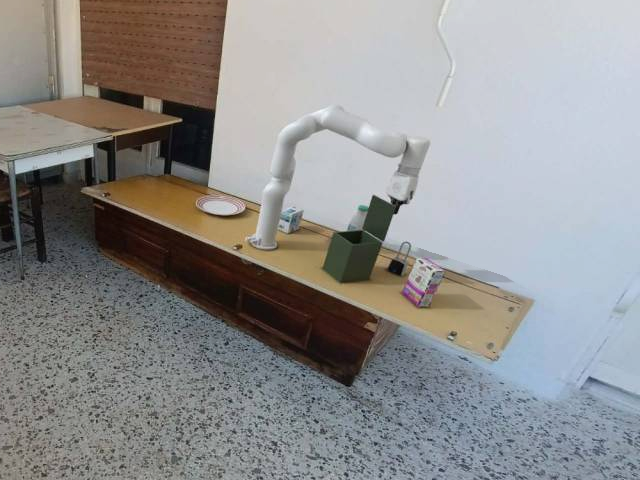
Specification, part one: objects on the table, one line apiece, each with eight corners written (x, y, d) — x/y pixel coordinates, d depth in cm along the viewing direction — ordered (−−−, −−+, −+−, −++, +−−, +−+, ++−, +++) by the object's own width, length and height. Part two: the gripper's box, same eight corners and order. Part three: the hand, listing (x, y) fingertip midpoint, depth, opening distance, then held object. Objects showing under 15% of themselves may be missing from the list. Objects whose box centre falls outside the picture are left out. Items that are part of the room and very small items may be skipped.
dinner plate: (234, 223, 242) (235, 217, 240) (187, 211, 254) (188, 205, 252) (251, 207, 262) (252, 202, 260) (207, 197, 274) (207, 191, 272)
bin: (340, 282, 193) (352, 245, 184) (322, 268, 203) (333, 232, 194) (369, 279, 197) (383, 242, 187) (350, 265, 207) (362, 229, 197)
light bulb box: (287, 233, 233) (292, 214, 227) (276, 229, 238) (281, 210, 232) (299, 228, 239) (304, 209, 233) (288, 224, 243) (293, 205, 238)
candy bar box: (429, 307, 179) (446, 271, 171) (417, 307, 179) (434, 271, 170) (412, 292, 189) (427, 257, 180) (401, 292, 188) (415, 257, 180)
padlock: (385, 270, 204) (397, 240, 196) (390, 267, 206) (402, 237, 199) (400, 276, 200) (413, 246, 192) (405, 274, 202) (418, 243, 194)
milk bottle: (358, 242, 228) (371, 205, 217) (360, 249, 221) (373, 210, 211) (342, 240, 230) (354, 202, 219) (343, 246, 223) (355, 208, 213)
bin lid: (394, 206, 179) (396, 206, 179) (372, 195, 189) (374, 194, 189) (382, 241, 187) (384, 241, 187) (362, 228, 197) (363, 228, 197)
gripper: (387, 164, 184) (372, 207, 194) (415, 176, 172) (398, 221, 182) (402, 164, 186) (387, 206, 195) (431, 175, 174) (413, 220, 183)
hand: (392, 213), depth 188 cm, fingers closed
